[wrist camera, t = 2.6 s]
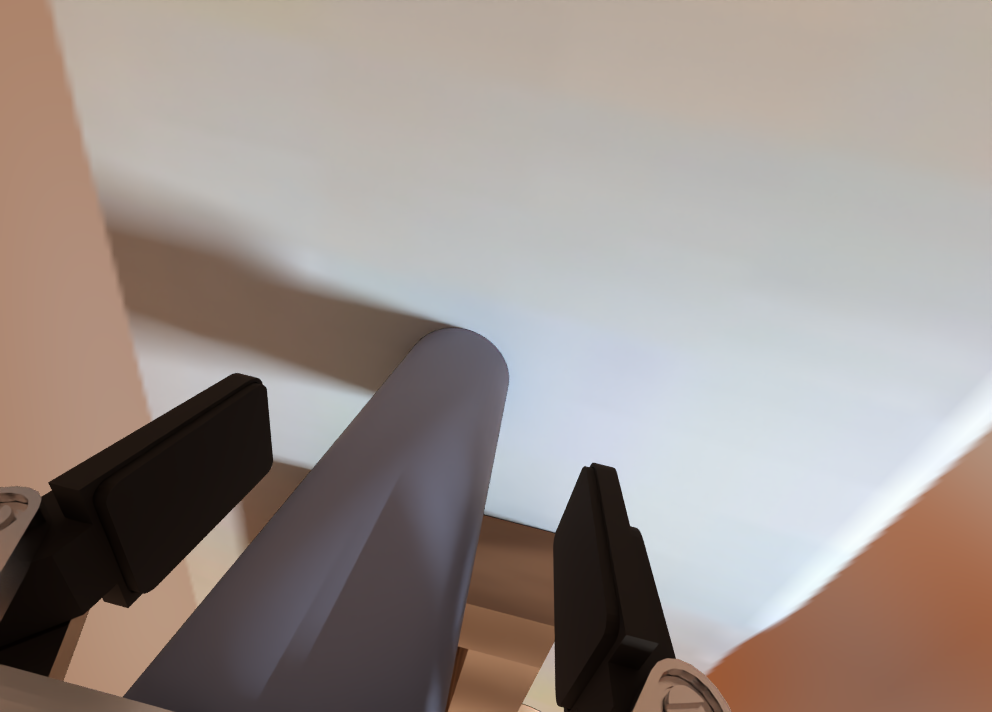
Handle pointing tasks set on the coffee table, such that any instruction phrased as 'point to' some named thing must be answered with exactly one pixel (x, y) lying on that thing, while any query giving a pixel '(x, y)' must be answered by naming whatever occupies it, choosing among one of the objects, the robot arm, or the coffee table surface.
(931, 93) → the coffee table surface
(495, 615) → the socket block
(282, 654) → the peg
